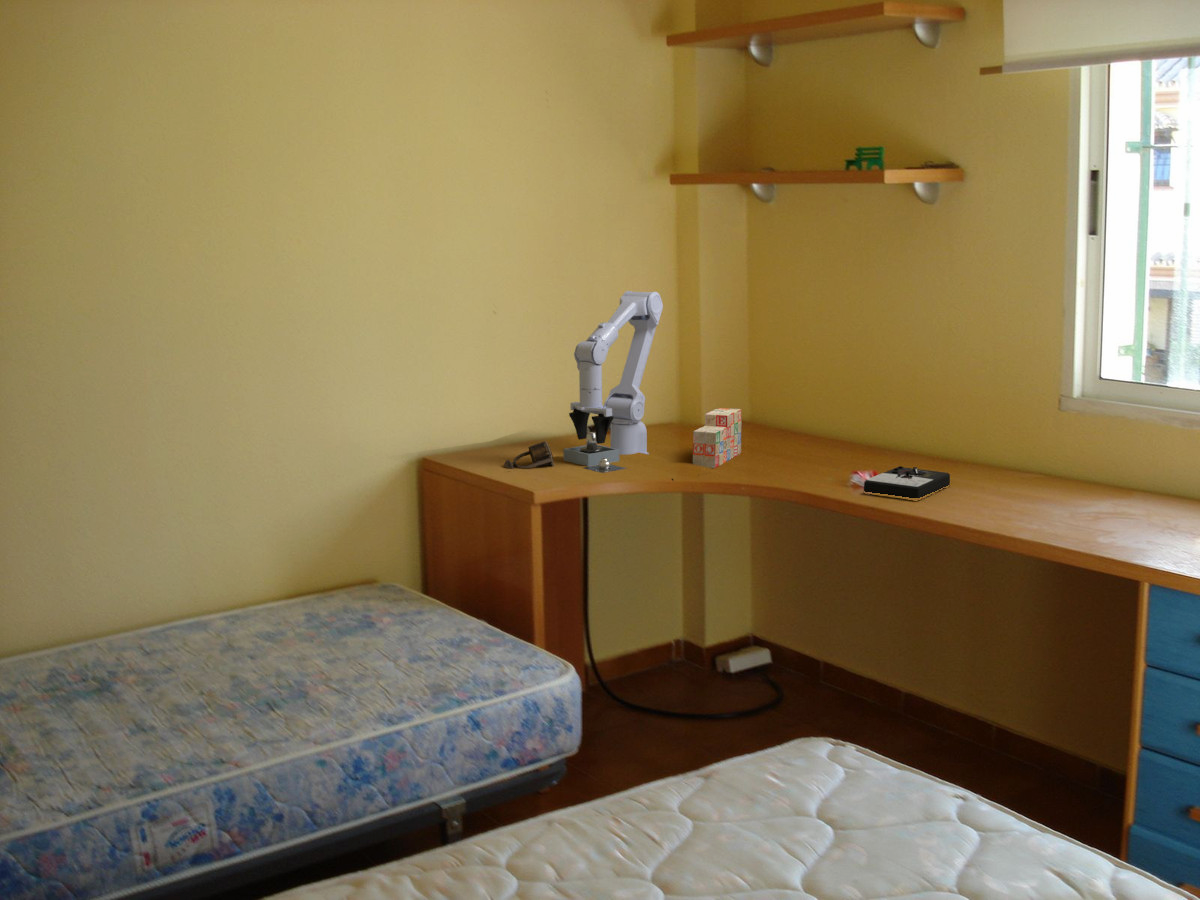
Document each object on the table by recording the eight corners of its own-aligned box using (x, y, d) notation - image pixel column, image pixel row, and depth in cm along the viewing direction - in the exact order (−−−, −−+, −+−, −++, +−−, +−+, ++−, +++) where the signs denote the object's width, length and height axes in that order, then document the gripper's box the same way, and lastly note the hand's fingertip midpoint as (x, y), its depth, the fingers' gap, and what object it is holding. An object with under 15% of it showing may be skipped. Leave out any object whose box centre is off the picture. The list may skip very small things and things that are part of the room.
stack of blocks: (715, 468, 310) (716, 420, 308) (692, 467, 313) (692, 419, 310) (741, 453, 329) (742, 408, 327) (719, 452, 332) (719, 406, 330)
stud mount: (606, 467, 312) (606, 453, 312) (627, 472, 306) (627, 458, 306) (582, 471, 307) (581, 457, 307) (602, 476, 301) (602, 462, 301)
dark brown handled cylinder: (553, 453, 304) (559, 437, 313) (502, 448, 305) (509, 432, 314) (552, 479, 307) (557, 463, 316) (501, 474, 308) (508, 458, 317)
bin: (594, 458, 323) (594, 443, 323) (619, 464, 316) (619, 449, 315) (563, 464, 317) (563, 448, 316) (588, 470, 309) (588, 454, 309)
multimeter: (950, 488, 288) (951, 467, 287) (917, 503, 273) (918, 481, 272) (897, 481, 296) (898, 460, 295) (862, 495, 281) (863, 474, 280)
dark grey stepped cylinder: (576, 461, 317) (576, 432, 316) (596, 459, 320) (595, 430, 319) (587, 465, 312) (586, 435, 311) (607, 463, 315) (606, 433, 314)
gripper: (560, 387, 316) (561, 439, 318) (596, 393, 305) (597, 446, 307) (582, 384, 320) (583, 435, 323) (618, 390, 309) (618, 443, 312)
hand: (591, 441), depth 315 cm, fingers open, 7 cm apart
